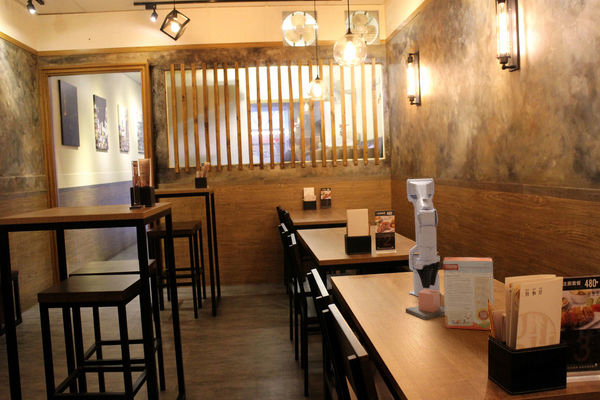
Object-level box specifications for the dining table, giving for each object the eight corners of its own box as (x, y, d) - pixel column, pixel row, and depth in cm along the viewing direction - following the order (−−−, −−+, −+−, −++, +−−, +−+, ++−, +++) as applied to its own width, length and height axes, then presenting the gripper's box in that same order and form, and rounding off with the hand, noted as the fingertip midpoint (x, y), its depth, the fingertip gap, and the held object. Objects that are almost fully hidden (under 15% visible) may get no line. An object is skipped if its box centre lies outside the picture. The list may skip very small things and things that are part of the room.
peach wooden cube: (425, 306, 164) (424, 288, 164) (439, 308, 161) (439, 290, 160) (418, 309, 160) (418, 292, 160) (433, 312, 157) (433, 294, 156)
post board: (433, 306, 168) (433, 290, 167) (453, 313, 158) (453, 296, 158) (405, 311, 163) (405, 295, 162) (424, 319, 153) (424, 302, 153)
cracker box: (493, 324, 146) (492, 256, 145) (494, 331, 140) (493, 260, 139) (445, 321, 151) (443, 256, 149) (444, 328, 145) (443, 259, 144)
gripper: (425, 242, 167) (426, 280, 168) (406, 248, 156) (407, 289, 157) (445, 243, 163) (446, 282, 163) (426, 250, 151) (427, 292, 152)
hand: (428, 286), depth 160 cm, fingers open, 3 cm apart
